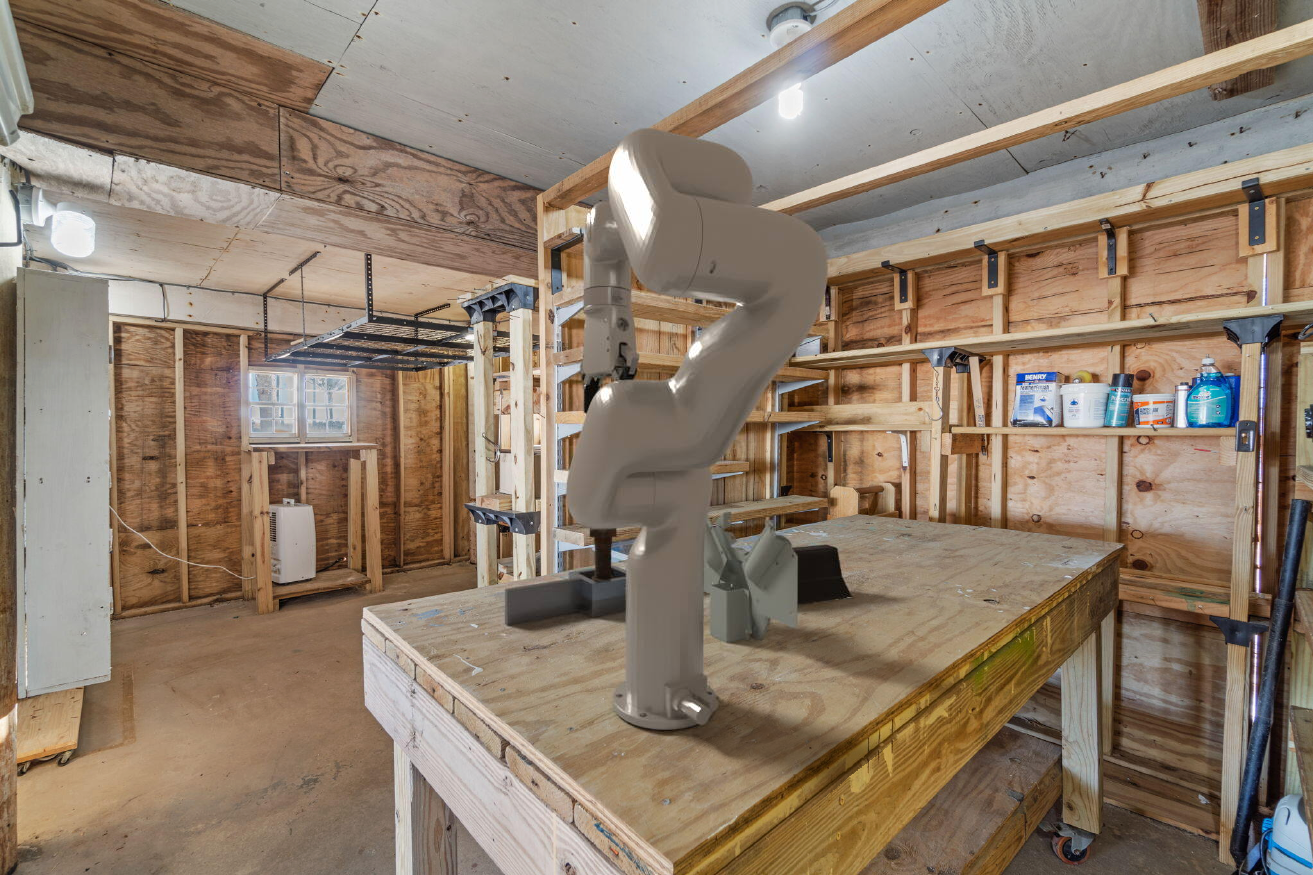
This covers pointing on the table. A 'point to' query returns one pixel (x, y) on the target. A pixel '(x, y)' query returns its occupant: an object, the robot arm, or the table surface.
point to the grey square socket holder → (567, 597)
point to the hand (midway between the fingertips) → (607, 412)
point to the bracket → (749, 582)
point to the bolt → (603, 552)
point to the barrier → (819, 574)
